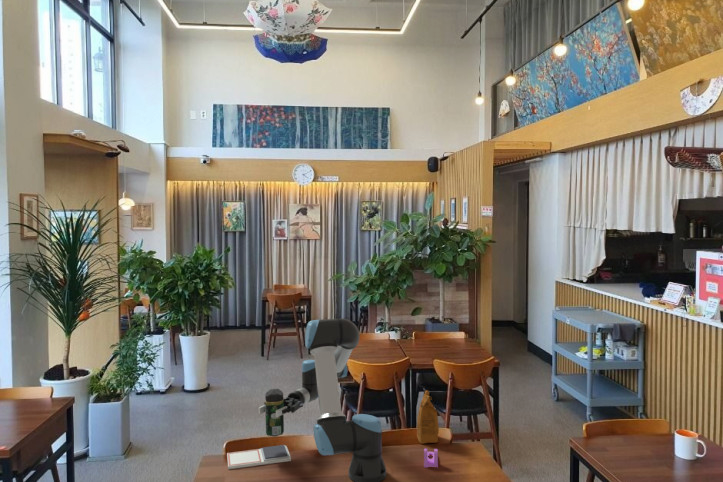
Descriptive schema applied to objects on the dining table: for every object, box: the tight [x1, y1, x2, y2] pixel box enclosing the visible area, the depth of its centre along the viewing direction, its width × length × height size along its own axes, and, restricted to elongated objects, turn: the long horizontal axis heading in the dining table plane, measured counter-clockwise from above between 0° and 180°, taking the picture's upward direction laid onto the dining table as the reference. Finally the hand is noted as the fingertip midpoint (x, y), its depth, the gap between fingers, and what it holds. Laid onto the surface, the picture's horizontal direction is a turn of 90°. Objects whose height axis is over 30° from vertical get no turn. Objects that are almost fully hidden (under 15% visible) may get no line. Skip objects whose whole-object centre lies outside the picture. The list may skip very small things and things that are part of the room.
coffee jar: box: [264, 388, 285, 437], centre depth 221 cm, size 10×8×19 cm
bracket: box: [423, 448, 439, 469], centre depth 214 cm, size 13×6×7 cm, turn 173°
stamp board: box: [226, 445, 292, 470], centre depth 218 cm, size 14×26×1 cm, turn 107°
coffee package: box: [416, 390, 440, 445], centre depth 237 cm, size 10×12×22 cm
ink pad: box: [260, 444, 291, 461], centre depth 220 cm, size 13×11×1 cm
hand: (267, 412), depth 217 cm, fingers closed on coffee jar, 9 cm apart
